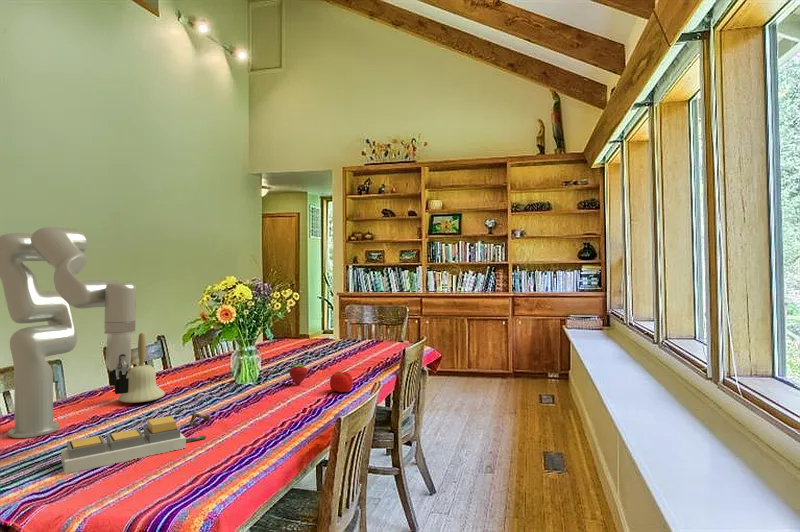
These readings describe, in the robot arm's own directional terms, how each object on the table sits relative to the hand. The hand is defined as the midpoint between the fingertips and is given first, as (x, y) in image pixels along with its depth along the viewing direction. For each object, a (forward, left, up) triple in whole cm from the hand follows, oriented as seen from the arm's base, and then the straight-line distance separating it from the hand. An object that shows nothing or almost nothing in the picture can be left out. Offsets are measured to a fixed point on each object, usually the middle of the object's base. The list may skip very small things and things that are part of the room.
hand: (118, 389), depth 143 cm
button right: (+7, +10, -11) cm, 16 cm away
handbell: (-48, +15, -16) cm, 53 cm away
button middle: (+7, +1, -13) cm, 15 cm away
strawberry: (-36, +72, -16) cm, 82 cm away
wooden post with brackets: (-8, +24, -17) cm, 30 cm away
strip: (+7, +4, -16) cm, 18 cm away
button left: (+7, -8, -13) cm, 17 cm away
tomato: (-16, +81, -17) cm, 84 cm away
